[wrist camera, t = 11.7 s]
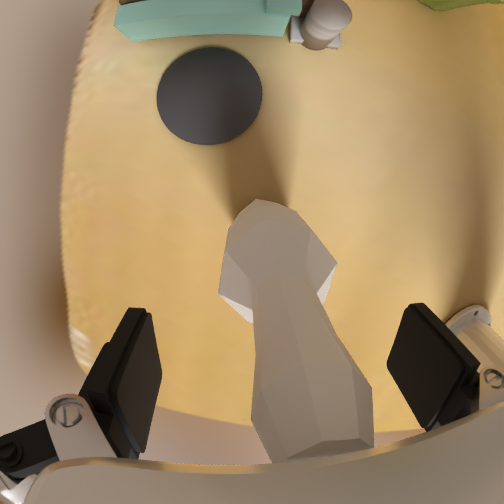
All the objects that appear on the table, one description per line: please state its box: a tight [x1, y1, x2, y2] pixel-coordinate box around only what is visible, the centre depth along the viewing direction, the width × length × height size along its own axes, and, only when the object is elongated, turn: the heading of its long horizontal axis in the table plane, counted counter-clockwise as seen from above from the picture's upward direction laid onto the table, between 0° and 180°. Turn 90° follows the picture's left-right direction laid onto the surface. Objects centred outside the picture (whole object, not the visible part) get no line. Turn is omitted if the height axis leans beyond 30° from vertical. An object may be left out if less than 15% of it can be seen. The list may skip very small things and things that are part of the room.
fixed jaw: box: [119, 0, 352, 50], centre depth 17 cm, size 5×18×6 cm, turn 88°
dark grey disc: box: [157, 48, 262, 145], centre depth 22 cm, size 9×9×1 cm
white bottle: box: [218, 199, 374, 464], centre depth 16 cm, size 6×6×22 cm
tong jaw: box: [114, 0, 302, 42], centre depth 16 cm, size 2×14×6 cm, turn 87°
